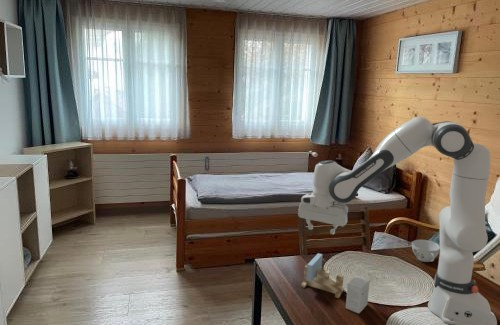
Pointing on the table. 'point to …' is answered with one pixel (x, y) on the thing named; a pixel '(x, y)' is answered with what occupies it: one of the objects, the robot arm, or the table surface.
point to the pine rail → (325, 282)
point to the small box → (357, 294)
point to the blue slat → (314, 267)
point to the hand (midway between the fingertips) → (321, 231)
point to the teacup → (425, 250)
